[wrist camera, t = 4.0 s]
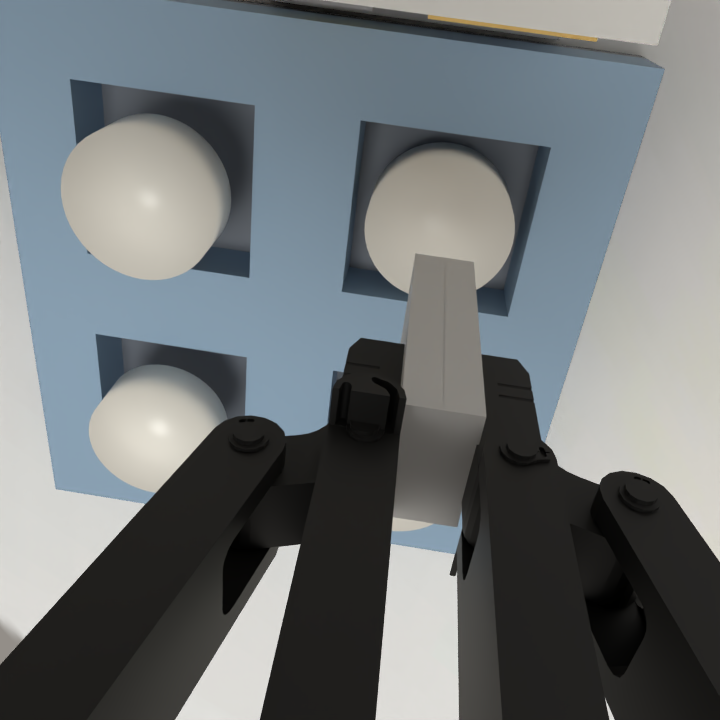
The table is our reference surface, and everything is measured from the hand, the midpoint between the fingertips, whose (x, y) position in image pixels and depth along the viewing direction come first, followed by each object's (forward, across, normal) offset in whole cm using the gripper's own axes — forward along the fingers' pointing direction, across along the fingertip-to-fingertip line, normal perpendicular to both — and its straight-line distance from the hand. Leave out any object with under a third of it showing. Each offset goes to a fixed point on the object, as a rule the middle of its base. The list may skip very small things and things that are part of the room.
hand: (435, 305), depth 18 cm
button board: (+10, -5, -6) cm, 13 cm away
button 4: (+9, 0, -1) cm, 9 cm away
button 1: (+7, -10, -11) cm, 16 cm away
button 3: (+8, -10, -1) cm, 13 cm away
